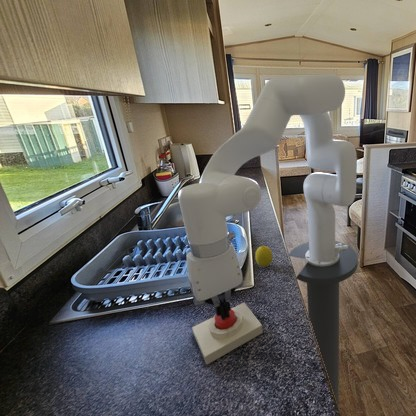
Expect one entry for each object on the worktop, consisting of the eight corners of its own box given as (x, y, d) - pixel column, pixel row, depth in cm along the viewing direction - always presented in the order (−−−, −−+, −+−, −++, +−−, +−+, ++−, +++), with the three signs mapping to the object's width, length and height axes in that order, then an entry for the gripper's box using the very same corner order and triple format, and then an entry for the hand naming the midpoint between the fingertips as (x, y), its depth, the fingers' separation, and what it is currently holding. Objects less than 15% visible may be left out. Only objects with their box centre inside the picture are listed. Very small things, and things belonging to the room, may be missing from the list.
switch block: (245, 309, 69) (243, 297, 68) (262, 332, 62) (261, 319, 61) (193, 335, 62) (190, 322, 60) (206, 365, 55) (203, 351, 53)
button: (231, 312, 64) (230, 305, 63) (238, 323, 60) (237, 316, 60) (213, 321, 61) (211, 314, 60) (219, 333, 58) (218, 326, 57)
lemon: (268, 273, 84) (265, 251, 81) (253, 269, 86) (250, 248, 83) (276, 263, 89) (274, 243, 86) (262, 261, 91) (260, 240, 88)
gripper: (238, 227, 60) (247, 292, 67) (165, 249, 51) (184, 321, 58) (252, 239, 55) (261, 309, 61) (173, 265, 46) (193, 343, 53)
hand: (223, 314), depth 60 cm, fingers closed
